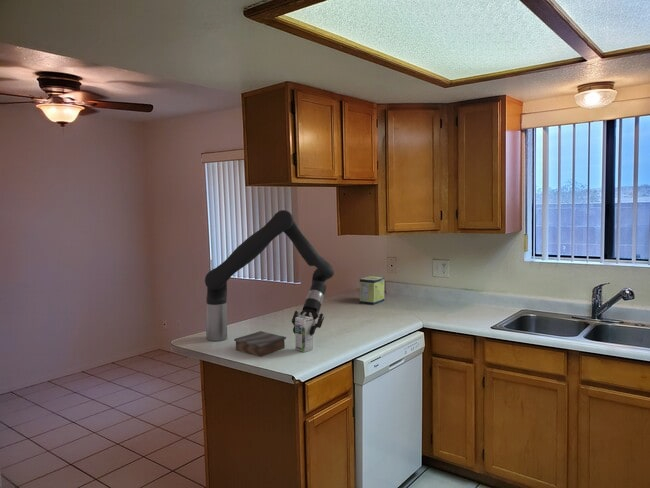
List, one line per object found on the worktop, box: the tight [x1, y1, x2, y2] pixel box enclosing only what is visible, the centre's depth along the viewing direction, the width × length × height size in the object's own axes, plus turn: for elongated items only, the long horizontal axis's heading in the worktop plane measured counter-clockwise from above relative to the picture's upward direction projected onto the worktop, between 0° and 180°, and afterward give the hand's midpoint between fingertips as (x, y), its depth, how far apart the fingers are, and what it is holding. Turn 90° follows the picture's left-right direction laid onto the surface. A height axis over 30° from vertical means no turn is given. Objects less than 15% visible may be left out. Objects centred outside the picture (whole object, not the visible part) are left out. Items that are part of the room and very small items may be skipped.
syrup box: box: [294, 315, 314, 353], centre depth 211 cm, size 6×6×14 cm
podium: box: [233, 330, 287, 357], centre depth 213 cm, size 16×16×5 cm
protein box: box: [359, 275, 385, 306], centre depth 311 cm, size 10×16×16 cm
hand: (302, 333), depth 210 cm, fingers closed on syrup box, 7 cm apart
